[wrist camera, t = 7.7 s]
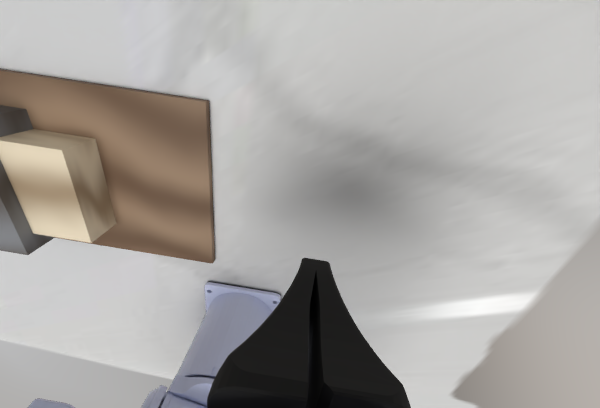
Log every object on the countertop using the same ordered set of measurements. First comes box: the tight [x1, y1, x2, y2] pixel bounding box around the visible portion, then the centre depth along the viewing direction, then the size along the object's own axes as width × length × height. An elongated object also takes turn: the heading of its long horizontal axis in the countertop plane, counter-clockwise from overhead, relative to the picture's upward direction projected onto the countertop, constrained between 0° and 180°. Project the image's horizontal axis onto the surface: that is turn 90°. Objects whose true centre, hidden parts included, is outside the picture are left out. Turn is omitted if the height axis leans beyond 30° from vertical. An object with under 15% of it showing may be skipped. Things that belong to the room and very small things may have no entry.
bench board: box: [0, 69, 215, 263], centre depth 21 cm, size 15×17×5 cm
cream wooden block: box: [0, 129, 116, 243], centre depth 22 cm, size 8×5×3 cm, turn 173°
